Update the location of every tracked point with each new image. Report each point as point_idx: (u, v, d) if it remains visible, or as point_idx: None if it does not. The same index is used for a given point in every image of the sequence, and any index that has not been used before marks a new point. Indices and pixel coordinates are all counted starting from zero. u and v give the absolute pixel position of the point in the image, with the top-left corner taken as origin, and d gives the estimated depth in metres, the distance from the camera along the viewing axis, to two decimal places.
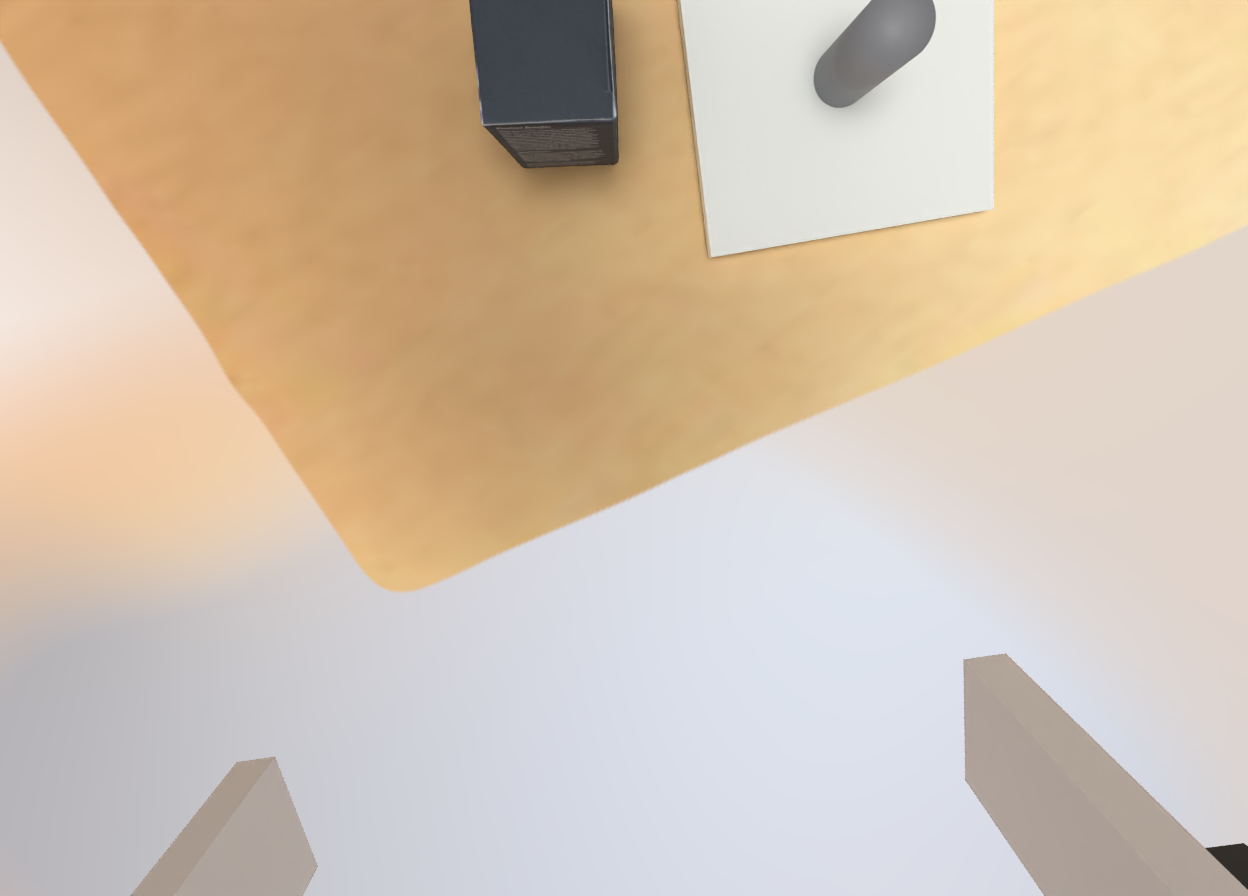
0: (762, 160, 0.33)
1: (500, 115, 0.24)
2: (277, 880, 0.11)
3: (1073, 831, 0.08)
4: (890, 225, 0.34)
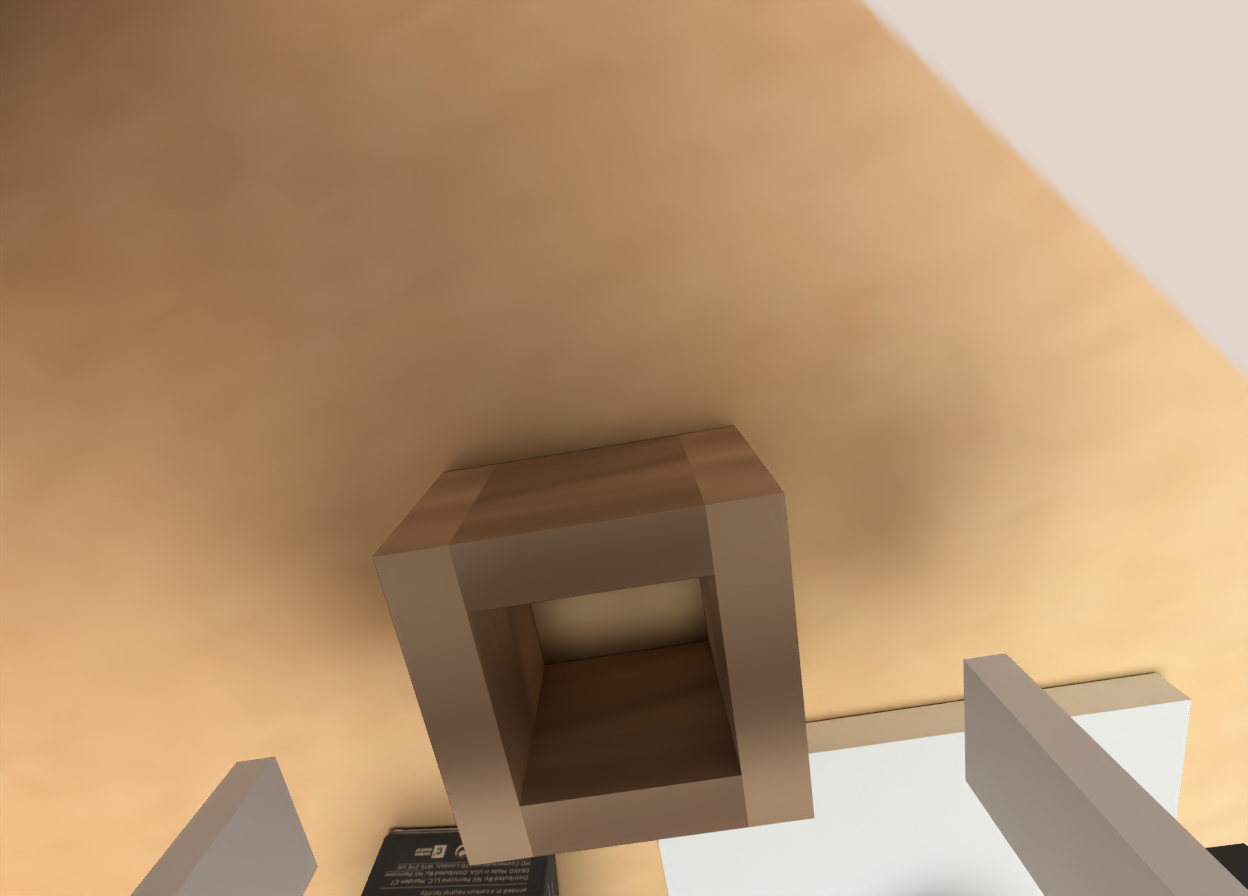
0: None
1: None
2: (277, 880, 0.11)
3: (1073, 831, 0.08)
4: None
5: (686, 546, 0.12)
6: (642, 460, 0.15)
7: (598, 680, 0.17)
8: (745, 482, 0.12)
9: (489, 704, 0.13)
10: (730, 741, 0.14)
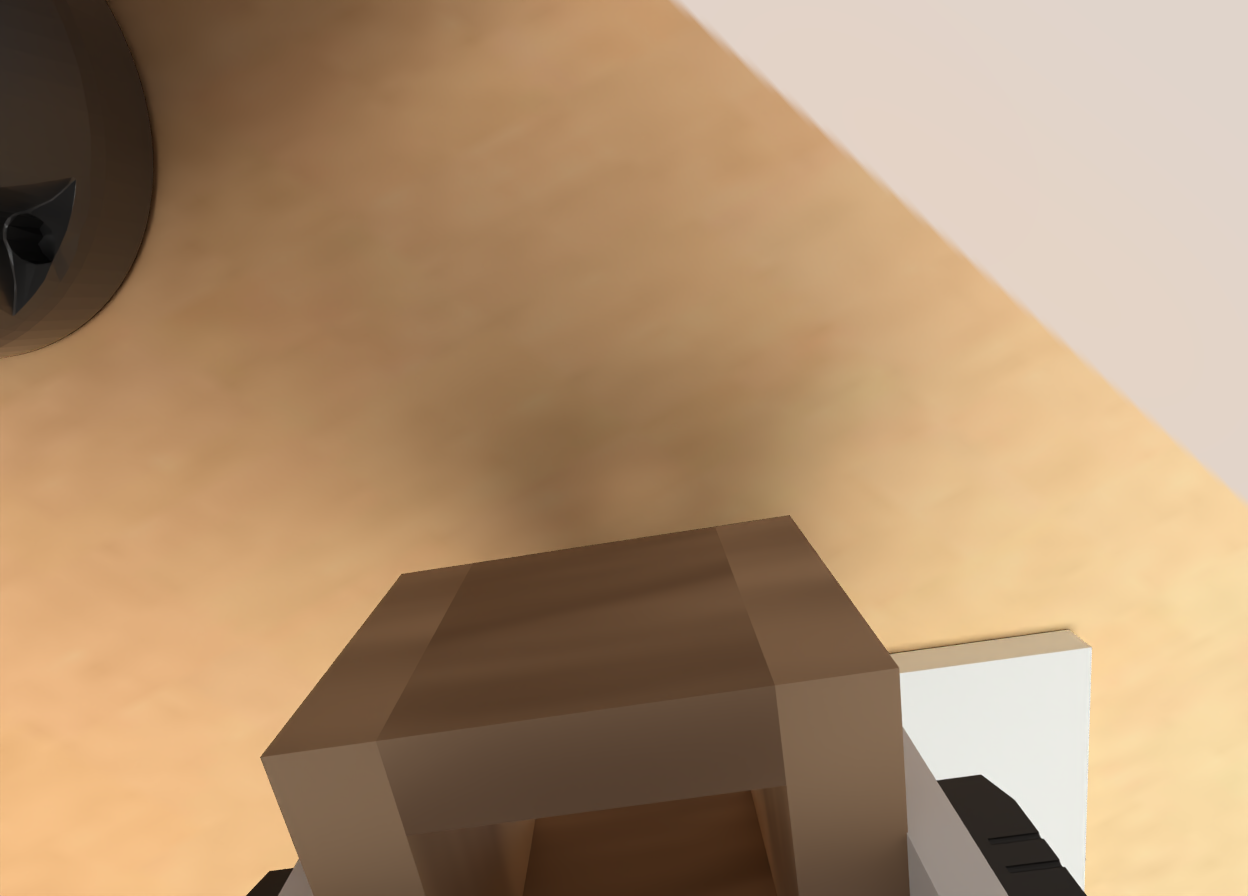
0: None
1: None
2: None
3: None
4: None
5: (743, 743, 0.08)
6: (668, 573, 0.11)
7: (605, 848, 0.13)
8: (829, 636, 0.08)
9: None
10: None
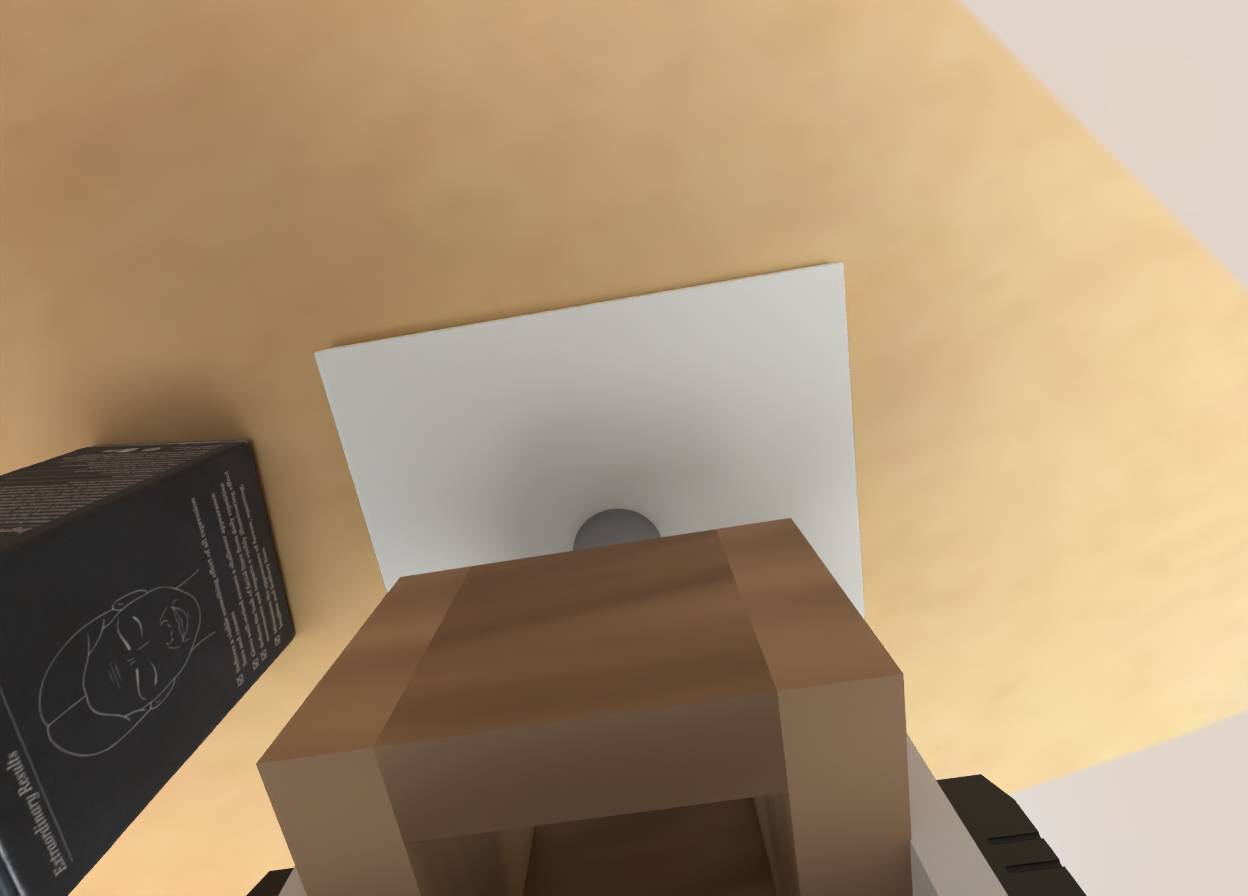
0: None
1: None
2: None
3: None
4: None
5: (744, 751, 0.07)
6: (669, 576, 0.10)
7: (605, 853, 0.13)
8: (832, 641, 0.08)
9: None
10: None
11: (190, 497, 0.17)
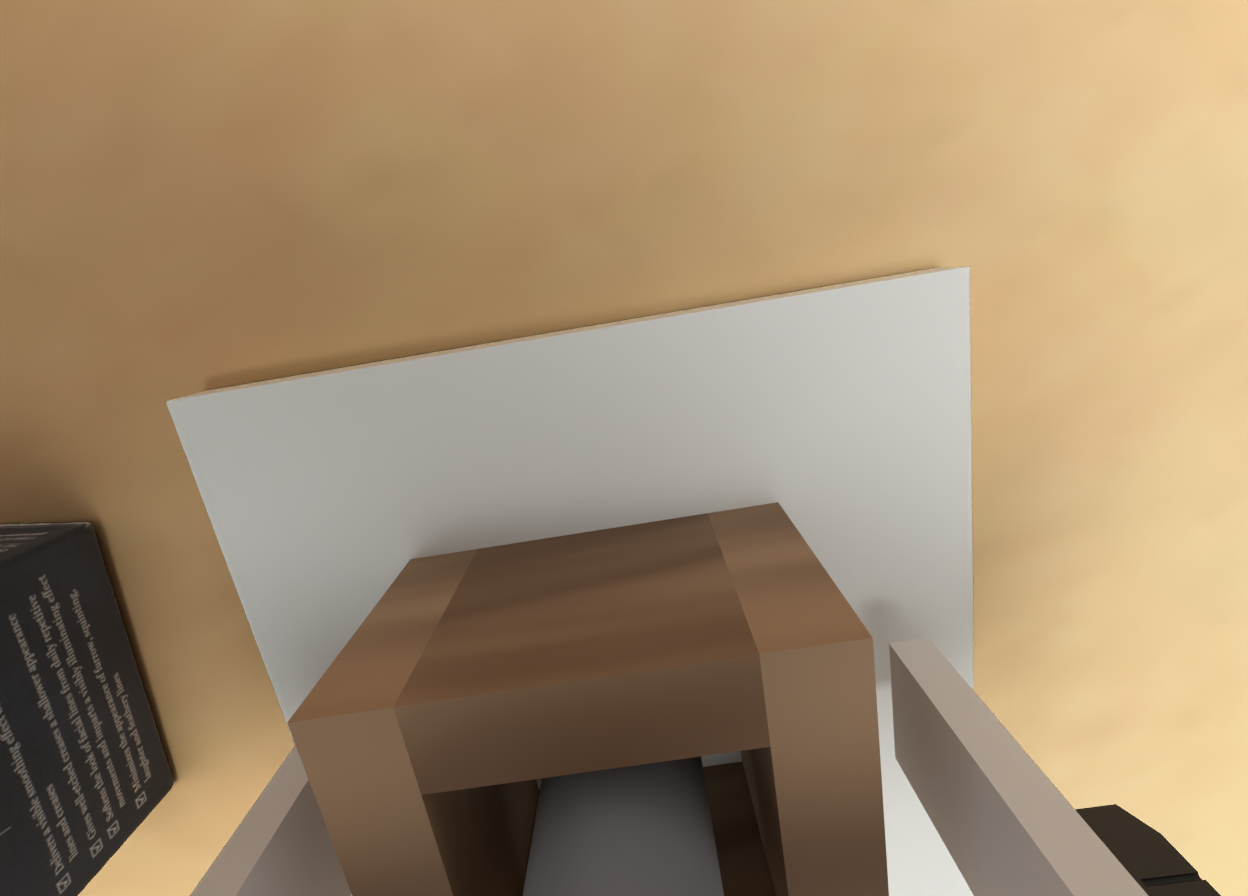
0: None
1: None
2: None
3: (969, 796, 0.09)
4: None
5: (730, 709, 0.08)
6: (662, 556, 0.11)
7: None
8: (811, 610, 0.09)
9: None
10: None
11: None
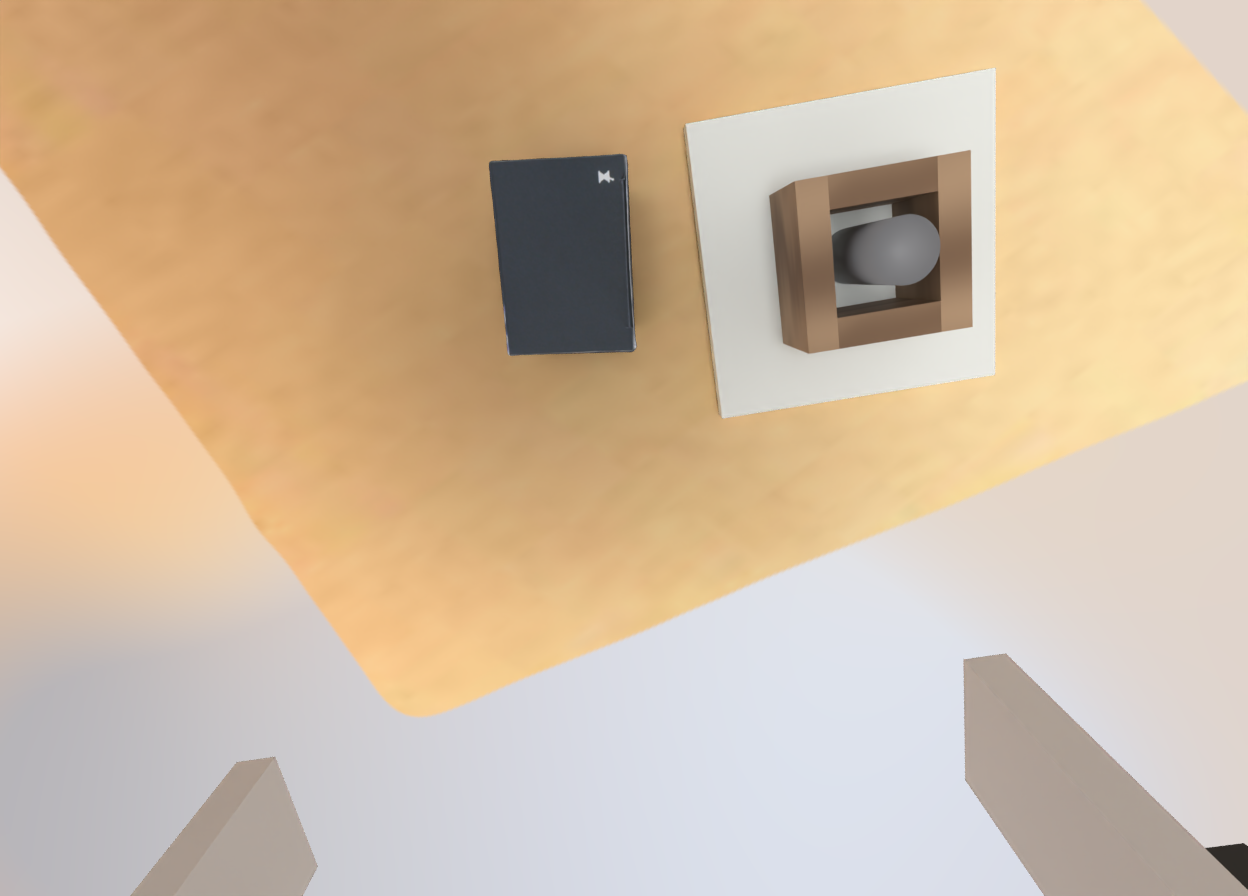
0: (772, 331, 0.34)
1: (526, 348, 0.26)
2: (277, 880, 0.11)
3: (1073, 831, 0.08)
4: (895, 389, 0.35)
5: (927, 176, 0.28)
6: None
7: (843, 308, 0.33)
8: None
9: (832, 259, 0.29)
10: (929, 300, 0.30)
11: None
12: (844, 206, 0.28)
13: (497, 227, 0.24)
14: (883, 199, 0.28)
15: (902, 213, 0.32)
